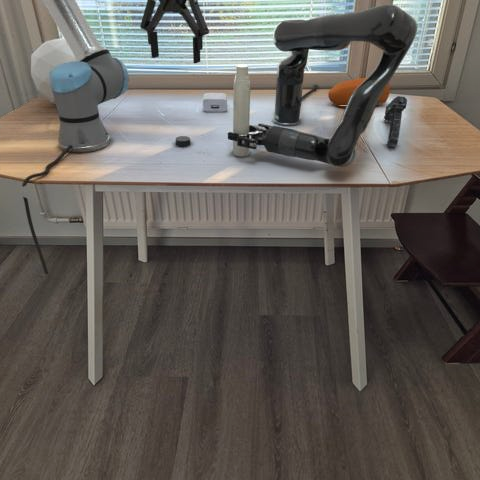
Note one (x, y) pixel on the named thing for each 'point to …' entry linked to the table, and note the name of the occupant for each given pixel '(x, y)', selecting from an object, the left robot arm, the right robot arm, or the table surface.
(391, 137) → the futuristic handgun
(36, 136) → the table surface
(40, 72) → the decorative sphere
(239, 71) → the bottle
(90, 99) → the left robot arm
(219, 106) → the charger
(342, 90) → the clog
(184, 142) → the cap
